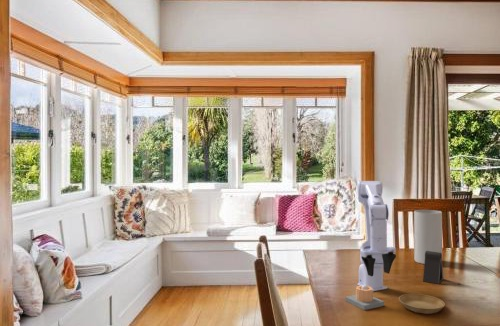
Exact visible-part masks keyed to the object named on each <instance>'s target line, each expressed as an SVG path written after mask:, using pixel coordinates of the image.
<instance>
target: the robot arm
mask: <svg viewBox="0 0 500 326" xmlns="http://www.w3.org/2000/svg"><path fill="white" fill-rule="evenodd" d="M356 187H357V188H356V189H357V199H358V202H359V203H360V204H362V207H363V210H364V222H365V234H366V236H365V237H366V240H365V241H364V242H363V243H361V245H360V247H359V248H360V249H359V253H360V255H359V256H360V257H359V258H360V263H361V264H360V265H359V267H358V283H357V284H356V285H357V286H363V285H366V286H369V287H372V288H373V292H377V291H381V290H382V291H383V290H387V289H389V288H388V286H385V285H384V273H385V274H390V271H391V270H392V269H391V268H392V265H393V263H394V261H395V259H396V257H397V255H396V252H397V251H396V249H397V247H394V246H388V245H387V244H388V240H387V239H388V235H387V234H388V228H387V227H388V224H387V223H388V220H389V217H390V213H389V207H388V204H387V203H386V204H385V202H384V199H383V197H382V194H383V182H382V181H381V180H358V181H357V185H356Z"/></svg>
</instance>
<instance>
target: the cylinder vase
mask: <svg viewBox="0 0 500 326" xmlns="http://www.w3.org/2000/svg"><path fill="white" fill-rule="evenodd" d="M413 214H414V215H413V216H414V217H413V223H414V224H413V232H414V233H413V234H414V236H413V239H414V240H413V241H414V243H413V244H414V245H413V247H414V249H413V250H414V251H413V253H414V258H413V259H414V262H416V263H418V264H422V265H424V264H425V252H426V251H431V252H439V253H442V254H443V212H442V211H440V210H435V209H433V210H432V209H417V210H414V211H413Z"/></svg>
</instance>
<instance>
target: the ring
mask: <svg viewBox="0 0 500 326" xmlns="http://www.w3.org/2000/svg"><path fill="white" fill-rule="evenodd" d="M373 292H374V291H373V288H372V287H369V286H367V290H363V289H362V286H359V285H357V286H355V295H356V299H357V300H358V301H362V302H370V301H372V300H373V297H374V295H373V294H374V293H373Z"/></svg>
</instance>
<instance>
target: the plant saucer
mask: <svg viewBox="0 0 500 326" xmlns="http://www.w3.org/2000/svg"><path fill="white" fill-rule="evenodd" d="M398 301H399V302H400V303H401V304H402V305H403V306H404V308H406V309H407V310H409V311H412V312H413V313H420V314H429V315H430V314H436V313H438V312H440V311H441V310H442V309H443V308H444V307H445V305H446V303H445V302H444V300H442V299H440V298H439V297H436V296H432V295H427V294H421V293H405V294H404V293H403V294H402V295H400V296H399V297H398Z"/></svg>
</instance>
